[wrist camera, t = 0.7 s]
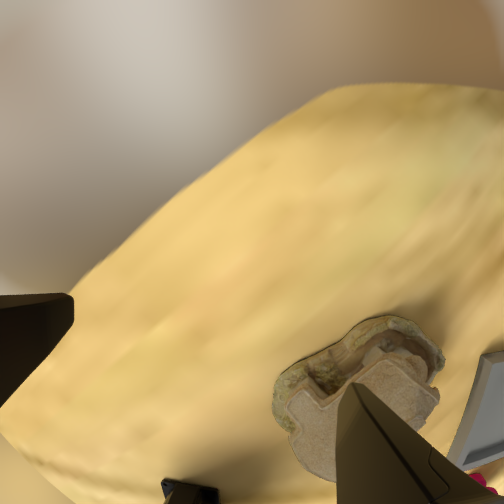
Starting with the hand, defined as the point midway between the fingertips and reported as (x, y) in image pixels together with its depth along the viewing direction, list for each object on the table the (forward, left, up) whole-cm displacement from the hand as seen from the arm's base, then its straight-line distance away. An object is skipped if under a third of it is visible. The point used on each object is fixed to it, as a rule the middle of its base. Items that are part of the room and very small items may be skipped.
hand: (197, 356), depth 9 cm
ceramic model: (-9, -9, -15) cm, 20 cm away
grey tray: (-15, -28, -15) cm, 35 cm away
